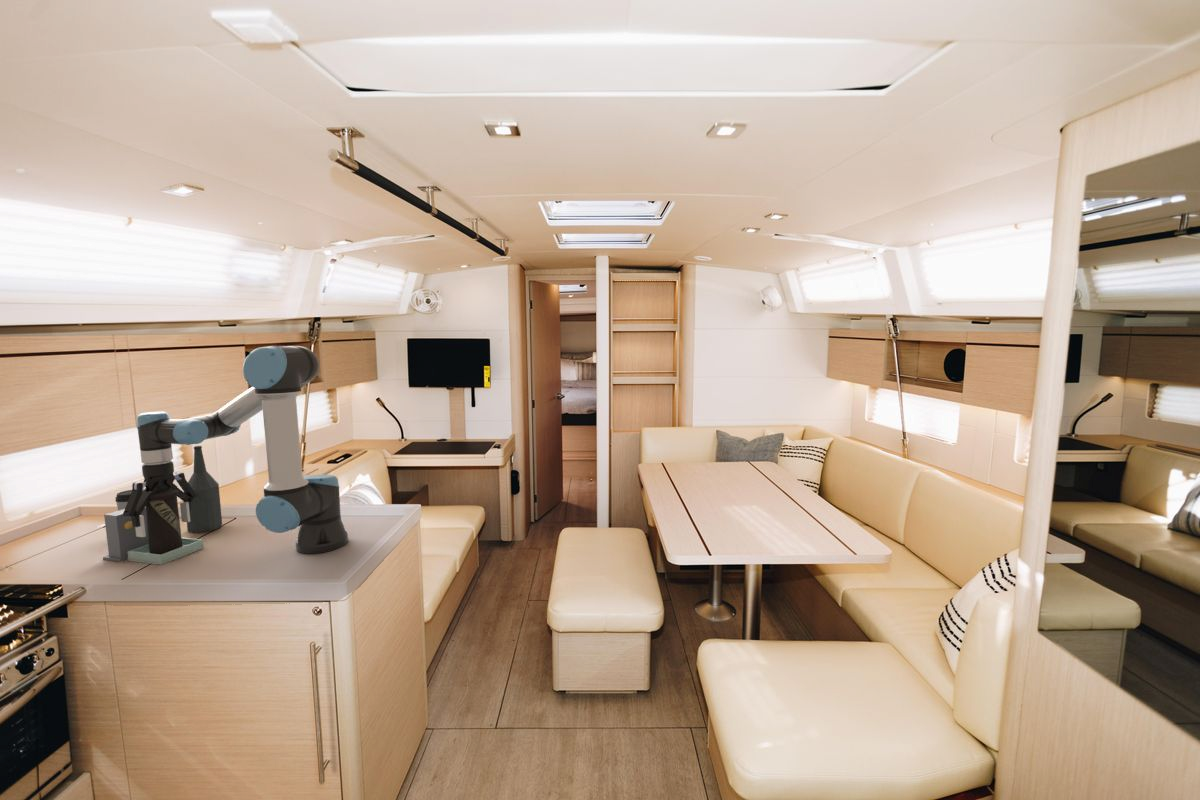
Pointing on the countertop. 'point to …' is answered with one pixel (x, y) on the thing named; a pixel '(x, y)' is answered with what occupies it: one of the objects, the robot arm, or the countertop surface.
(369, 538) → the countertop surface
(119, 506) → the coffee cup
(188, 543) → the tray
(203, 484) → the bottle
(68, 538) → the countertop surface
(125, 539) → the box
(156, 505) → the container
